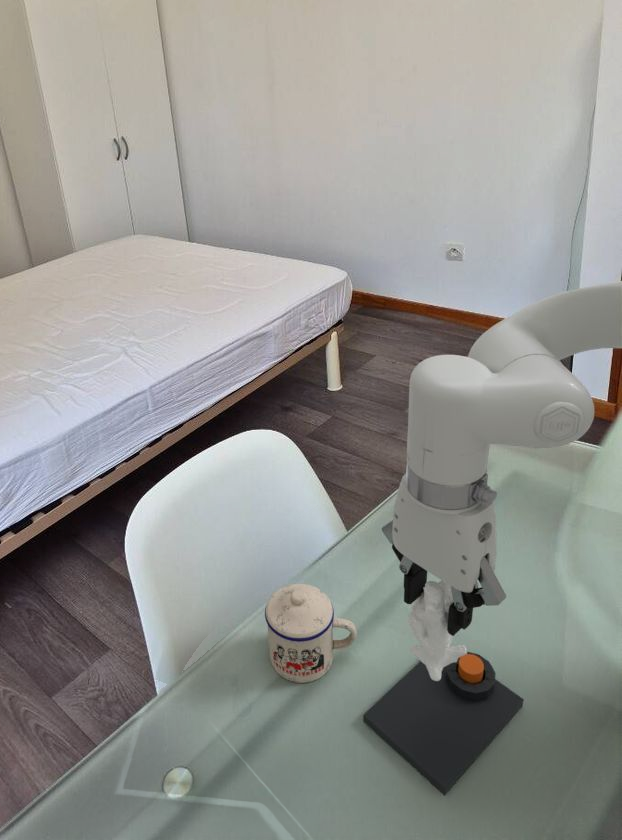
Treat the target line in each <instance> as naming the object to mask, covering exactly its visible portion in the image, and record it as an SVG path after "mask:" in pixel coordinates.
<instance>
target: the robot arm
mask: <svg viewBox="0 0 622 840" xmlns="http://www.w3.org/2000/svg"><path fill="white" fill-rule="evenodd" d="M601 349H622V280H619V281H613V282H612V281H611V282H607V283H602V284H597V285H591V286H585V287H579V288H575V289H571V290H566V291H562V292H558V293H555V294H552V295H550V296H547V297H545V298H541V299H540V300H537V301H535V302H533V303H532V304H529V305H528V306H526V307H524V308H522V309H520V310H518V311H516V312H514V313H513V314H510V315H509V316H507V317H506V318H504V319H502V320H501V321H499V322H497V323H496V324H494V325H492V326H491V327H490V328H488V329H487V330H486V331H484V332H483V333H482V334H481V335H480V336H479V337H478V338H477V339H476V341H475V342H474V343H473V345H472V346H471V347H470V350H469V352H468V354H467V356H464V355H458V354H437V355H434V356H430V357H427V358H426V359H425V358H424V359H423V360H422V361H420V362H419V363H418V364H417V365H415V366H414V368H413V370H412V372H411V373H410V378H409V387H408V388H409V389H408V412H407V413H408V415H407V438H406V439H407V440H406V464H405V465H406V467H405V468H406V469H405V470H406V471H405V473H404V474H403V475H402V478H401V479H400V483H399V487H398V489H397V493H396V497H395V502H394V508H393V516H392V520H390V521H389V522H387V523H386V524H385V525H383V526H382V527H381V532H382V533H383V536H384V537H385V538H386V540H387V541H388V542H389V544H390V545H391V549H392V551H393V553H394V554H395V556H396V558H397V560H398V561H399V565H398V567H399V570H400V572H401V573H402V574H403V602H404V603H405V604H407V605H413V604H414V602H415V600H416V599H418V598H419V597H420V596H421V594H422V593H423V592H424V589H423V587H425V584H426V583H427V582H428V573H429V574H431V575H432V576H434V577H436V578H437V579H439V580H440V581H441V580H442V581H444V582H445V583H447V584H448V585H450V586H451V591H452V596H453V600H454V602H453V603H452V604H451V605H450V606H449V613H448V626H447V631H448V633H449V634H450V635H452V636H454V637H455V636H456V634H457V633H458V632H460V630H467V628H469V626H470V625H471V623H472V621H473V615H474V614H473V613H474V609H475V608H480V607H482V606H491V607H492V606H499V605H500V604H502V602H503V601H504V600H505V599H506V598H507V594H506V593H505V591H504V589H503V587H502V585H501V583H500V582H499V579H498V578H497V576H496V574H495V570H496V566H497V555H498V554H497V553H498V551H497V549H498V532H497V531H498V530H497V517H496V510H495V504H494V503H495V501H496V499H497V495H498V493H497V491H495V490H494V489H492V488H491V486H489V485H488V479H489V474H488V466H489V455H490V445H500V446H511V447H519V448H530V449H553V448H558V447H559V448H560V447H563V446H567V445H569V444H571V443H574V442H576V441H577V440H579V439H580V438H582V437H583V436H584V435H585V434H586V433H587V432H588V430H589V429H590V428H591V426H592V423H593V422H594V419H595V403H594V401H593V397H592V396H591V393H590V392H589V390H588V389H587V387H586V386H585V385H584V384H583V383H582V381H581V380H579V379H578V377H577V376H576V375H575V374H573V373H572V372H571V370H569V369H568V368H567V367H566V366H565V365H564V364H563V363H562V361H561V360H563V359H566V358H568V357H570V356H574V355H577V354H580V353H584V352H588V351H593V350H594V351H595V350H601ZM478 582H479V583H478ZM479 584H480V587H479Z"/></svg>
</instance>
